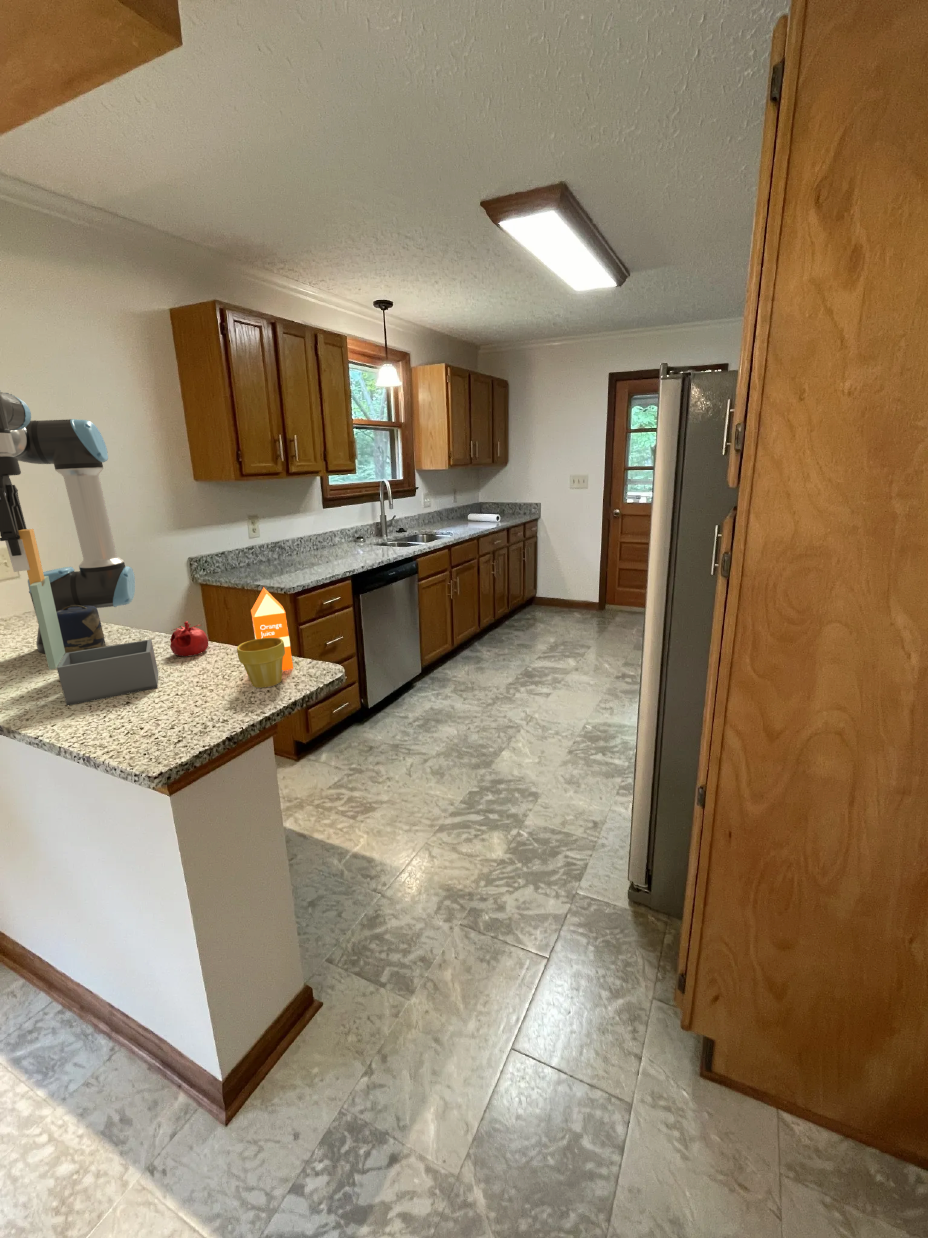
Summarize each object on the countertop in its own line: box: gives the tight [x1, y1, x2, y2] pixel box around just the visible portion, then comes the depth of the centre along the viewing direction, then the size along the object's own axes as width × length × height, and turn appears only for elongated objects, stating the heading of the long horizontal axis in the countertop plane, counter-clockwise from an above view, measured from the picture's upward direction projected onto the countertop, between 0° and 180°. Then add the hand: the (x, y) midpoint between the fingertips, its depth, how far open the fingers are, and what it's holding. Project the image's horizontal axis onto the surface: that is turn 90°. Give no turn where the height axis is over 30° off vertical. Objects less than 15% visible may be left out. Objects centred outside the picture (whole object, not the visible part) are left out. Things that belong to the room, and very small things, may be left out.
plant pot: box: [236, 637, 285, 689], centre depth 130 cm, size 10×10×10 cm
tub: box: [56, 638, 159, 706], centre depth 132 cm, size 12×18×9 cm, turn 117°
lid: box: [19, 528, 65, 671], centre depth 122 cm, size 13×30×2 cm
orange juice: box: [250, 586, 294, 671], centre depth 140 cm, size 8×9×20 cm
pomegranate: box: [169, 621, 209, 657], centre depth 155 cm, size 10×10×9 cm
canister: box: [56, 605, 107, 655], centre depth 143 cm, size 10×10×18 cm
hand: (24, 568), depth 120 cm, fingers closed on lid, 4 cm apart
